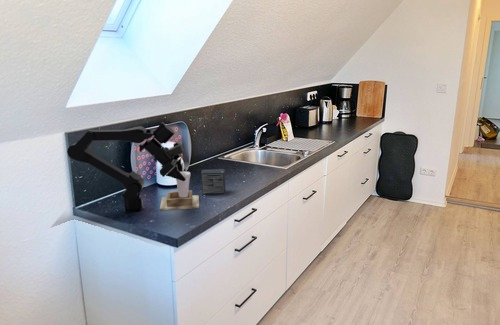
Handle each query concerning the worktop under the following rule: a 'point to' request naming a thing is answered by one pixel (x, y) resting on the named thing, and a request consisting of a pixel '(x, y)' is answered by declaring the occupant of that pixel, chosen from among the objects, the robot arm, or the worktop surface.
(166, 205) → the bottle stand
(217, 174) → the small box
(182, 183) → the smoothie
